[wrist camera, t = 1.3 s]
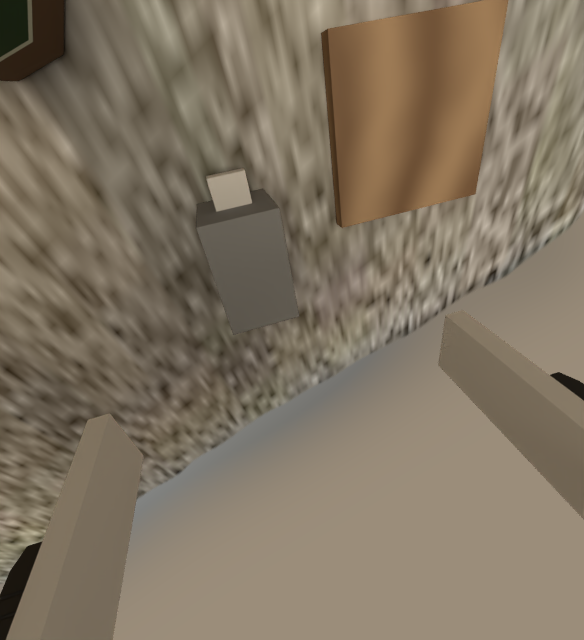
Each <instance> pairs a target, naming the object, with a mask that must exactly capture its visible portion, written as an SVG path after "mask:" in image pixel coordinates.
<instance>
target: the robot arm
mask: <svg viewBox="0 0 584 640" xmlns="http://www.w3.org/2000/svg"><path fill="white" fill-rule="evenodd" d="M438 365H439V366H440V368H442V370H443V371H444V372H445V373H446V374H447V375H448V376H449V377H450V378H451V379H452V380H453V381H454V382H455V383H456V384H457V386H458V387H459V388H461V390H462V391H463V392H464V393H465V394H466V395H467V396H468V397H469V398H470V399H471V400H472V401H473V402H474V403H475V405H476V406H477V407H478V408H479V409H480V410H481V411H482V412H483V413H484V414H485V415H486V416H487V417H488V418H489V419H490V421H491V422H492V423H493V424H494V425H495V426H496V427H497V428H498V429H499V430H500V431H501V432H502V433H503V434H504V435H505V436H506V437H507V438H508V440H509V441H510V442H511V443H512V444H513V445H514V446H515V447H516V448H517V449H518V450H519V451H520V452H521V453H522V454H523V456H524V457H525V458H526V459H527V460H528V461H529V462H530V463H531V464H532V465H533V466H534V467H535V468H536V469H537V470H538V471H539V472H540V474H541V475H542V476H543V477H544V478H545V479H546V480H547V481H548V482H549V483H550V484H551V485H552V486H553V487H554V488H555V489H556V491H557V492H558V493H559V494H560V495H561V496H562V497H563V498H564V499H565V500H566V501H567V502H568V503H569V504H570V505H571V506H572V507H573V509H575V511H576V512H577V513H578V514H579V515H580V516H581V517H582V518H583V519H584V384H583V383H581V382H580V381H578V380H575V379H573V378H571V377H569V376H566V375H564V374H562V373H560V372H558V373H554V374H552V375H549V374H547V373H546V372H545V371H543V370H542V369H541V368H539V367H538V366H537V365H535V364H534V363H533V362H531V361H530V360H529V359H527V358H526V357H525V356H523V355H522V354H521V353H519V352H518V351H517V350H515V349H514V348H513V347H511V346H510V345H509V344H507V343H506V342H505V341H503V340H502V339H501V338H499V337H498V336H497V335H495V334H494V333H493V332H491V331H490V330H489V329H487V328H486V327H485V326H483V325H482V324H481V323H479V322H478V321H477V320H475V319H474V318H473V317H471V316H470V315H469V314H467V313H466V312H465V311H463V310H461V311H458V312H454V313H451V314H448V315H445V321H444V328H443V336H442V342H441V349H440V355H439V363H438ZM143 458H144V456H143V455H142V453H141V452H140V451H139V449H138V448H137V447H136V446H135V444H134V443H133V442H132V441H131V439H130V438H129V437H128V436H127V434H126V433H125V432H124V431H123V429H122V428H121V427H120V425H119V424H118V423H117V422H116V420H115V419H114V418H113V417H112V415H111V414H106V415H103V416H99V417H96V418H92V419H89V420H88V421H87V423H86V426H85V429H84V432H83V434H82V437H81V440H80V442H79V445H78V448H77V450H76V453H75V456H74V458H73V461H72V464H71V466H70V469H69V472H68V474H67V477H66V480H65V482H64V485H63V488H62V490H61V493H60V496H59V498H58V501H57V504H56V507H55V509H54V512H53V515H52V517H51V520H50V523H49V525H48V528H47V531H46V533H45V536H44V539H43V541H42V542H39V543H36V544H33V545H30V546H27V547H26V549H25V550H24V552H23V553H22V555H21V556H20V558H19V559H18V560H17V562H16V563H15V565H14V566H13V568H12V569H11V571H10V573H9V575H8V577H7V580H6V582H5V585H4V587H3V590H2V592H1V594H0V640H113V634H114V628H115V622H116V616H117V610H118V604H119V598H120V593H121V587H122V581H123V575H124V569H125V563H126V558H127V551H128V546H129V540H130V534H131V528H132V522H133V517H134V511H135V504H136V499H137V493H138V487H139V481H140V475H141V469H142V464H143Z"/></svg>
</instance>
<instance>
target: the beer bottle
mask: <svg viewBox="0 0 584 640" xmlns="http://www.w3.org/2000/svg"><path fill="white" fill-rule="evenodd" d="M63 54H64V0H0V80H1V81H20V80H21V79H23V78H25V77H26V76H28V75H30V74H31V73H33V72H35V71H36V70H38V69H40V68H41V67H43V66H45V65H46V64H48V63H50V62H52V61H53V60H55V59H57V58H58V57H60V56H62V55H63Z"/></svg>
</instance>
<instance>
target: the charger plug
mask: <svg viewBox="0 0 584 640" xmlns="http://www.w3.org/2000/svg"><path fill="white" fill-rule="evenodd" d="M206 179H207V182H208V186H209V189H210V192H211V196H212V199H213V200H212V201H208V202H203V203H199V204H197V216H196V229H197V232H198V235H199V238H200V240H201V243H202V246H203V249H204V252H205V255H206V258H207V260H208V263H209V266H210V269H211V272H212V275H213V278H214V280H215V283H216V286H217V289H218V292H219V295H220V298H221V300H222V303H223V306H224V309H225V312H226V315H227V318H228V321H229V323H230V326H231V329H232V332H233V335H235V334H239V333H242V332H246V331H249V330H253V329H257V328H260V327H264V326H267V325H271V324H274V323H278V322H281V321H285V320H289V319H292V318H296V317H299V312H298V307H297V301H296V296H295V290H294V285H293V279H292V274H291V269H290V263H289V258H288V252H287V247H286V241H285V236H284V231H283V225H282V220H281V214H280V209H279V207H278V206H277V205H276V203H275V202H274V201H273V200H272V199H271V197H270V196H269V195H268V194H267V193H266V192H265V190H264V189H259V190H255V191H251V192H250V191H249V187H248V182H247V178H246V174H245V170H244V169H243V168H241V169H236V170H232V171H227V172H223V173H219V174H214V175H210V176H206Z"/></svg>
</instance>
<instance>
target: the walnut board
mask: <svg viewBox="0 0 584 640" xmlns="http://www.w3.org/2000/svg"><path fill="white" fill-rule="evenodd" d="M507 5H508V0H484V1H479V2H473V3H468V4H462V5H457V6H451V7H446V8H440V9H435V10H429V11H424V12H418V13H413V14H407V15H402V16H396V17H391V18H385V19H379V20H374V21H368V22H363V23H357V24H352V25H346V26H341V27H335V28H330V29H327V30H325V31H324V32H322V33H321V35H322V47H323V60H324V72H325V84H326V97H327V109H328V121H329V134H330V146H331V158H332V171H333V183H334V195H335V208H336V220H337V224H338V225H339V226H340V227H342V228H343V227H347V226H351V225H355V224H359V223H363V222H367V221H371V220H375V219H379V218H383V217H387V216H391V215H395V214H399V213H403V212H407V211H411V210H414V209H418V208H422V207H426V206H430V205H434V204H438V203H442V202H446V201H450V200H454V199H458V198H462V197H466V196H470V195H474V194H475V193H476V187H477V181H478V175H479V170H480V164H481V158H482V152H483V146H484V140H485V134H486V128H487V123H488V117H489V111H490V105H491V99H492V93H493V87H494V81H495V76H496V70H497V64H498V58H499V52H500V46H501V40H502V34H503V29H504V23H505V17H506V11H507Z"/></svg>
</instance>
